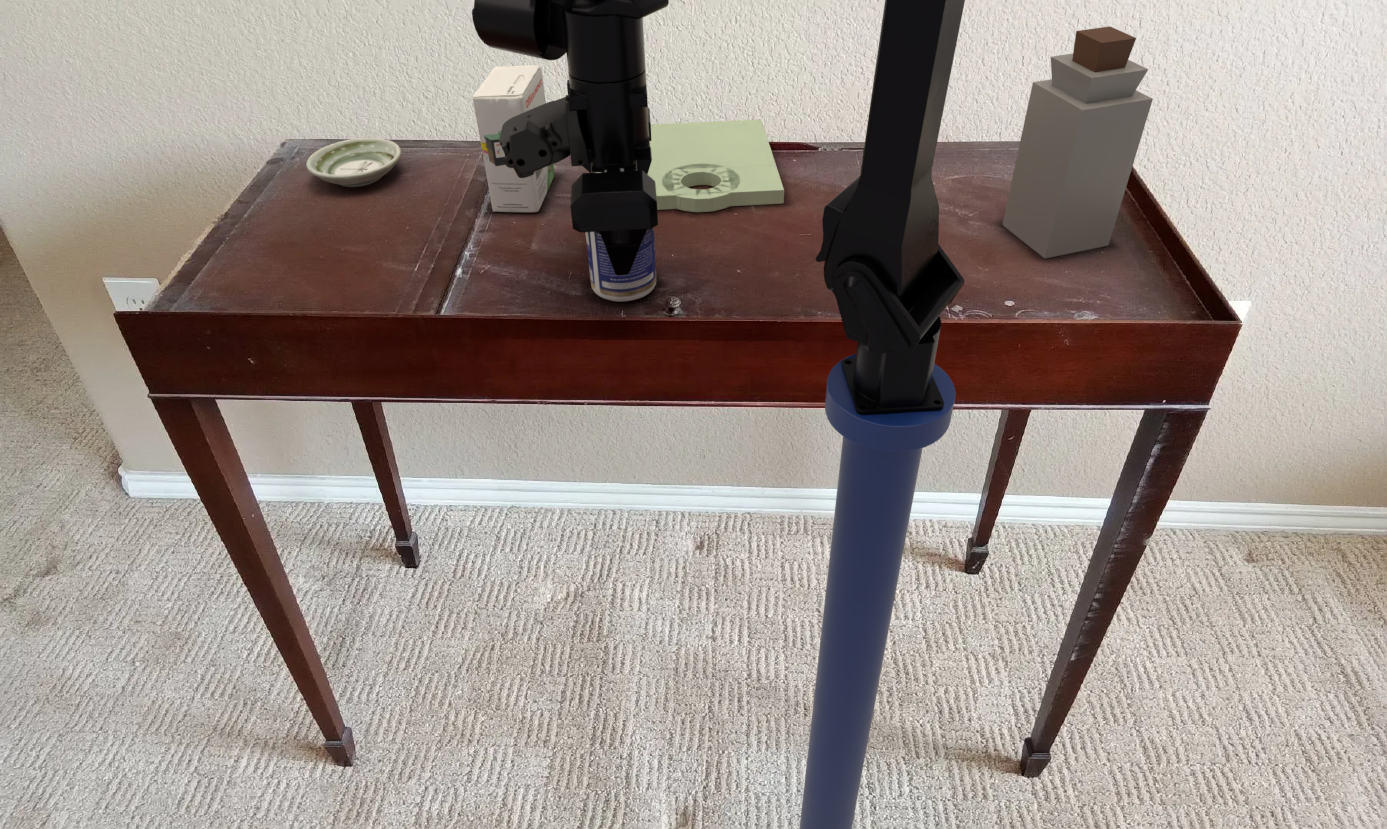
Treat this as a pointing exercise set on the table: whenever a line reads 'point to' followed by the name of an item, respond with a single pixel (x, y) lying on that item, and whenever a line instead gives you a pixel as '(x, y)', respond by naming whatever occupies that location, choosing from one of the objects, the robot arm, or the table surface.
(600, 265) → the pill bottle
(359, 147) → the saucer
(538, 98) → the ink box
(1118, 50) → the perfume bottle
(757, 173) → the plate
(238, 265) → the table surface
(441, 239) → the table surface
